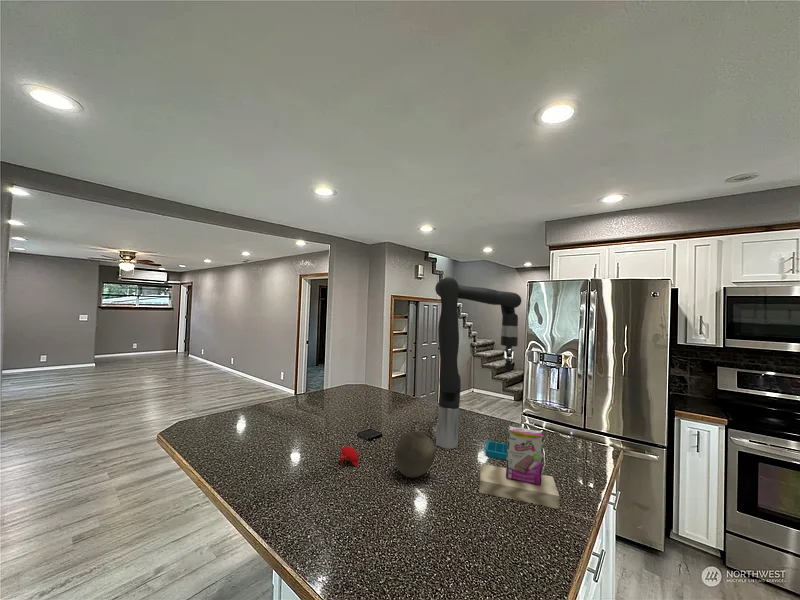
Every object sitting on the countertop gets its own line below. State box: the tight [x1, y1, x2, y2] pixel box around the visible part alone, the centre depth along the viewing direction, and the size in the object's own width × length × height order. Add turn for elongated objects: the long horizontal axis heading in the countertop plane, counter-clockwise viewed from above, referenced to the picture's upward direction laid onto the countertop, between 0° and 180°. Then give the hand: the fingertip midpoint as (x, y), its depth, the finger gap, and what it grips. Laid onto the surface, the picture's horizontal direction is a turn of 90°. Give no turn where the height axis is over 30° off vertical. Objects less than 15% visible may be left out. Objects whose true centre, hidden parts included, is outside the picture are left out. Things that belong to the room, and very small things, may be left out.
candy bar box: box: [505, 425, 544, 486], centre depth 110 cm, size 11×5×16 cm, turn 72°
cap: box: [339, 445, 360, 467], centre depth 123 cm, size 8×6×6 cm
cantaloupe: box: [394, 430, 437, 479], centre depth 117 cm, size 14×14×15 cm
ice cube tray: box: [484, 440, 508, 461], centre depth 138 cm, size 12×20×3 cm, turn 71°
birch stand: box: [478, 463, 560, 510], centre depth 110 cm, size 24×13×4 cm, turn 73°
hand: (507, 370), depth 152 cm, fingers open, 8 cm apart
